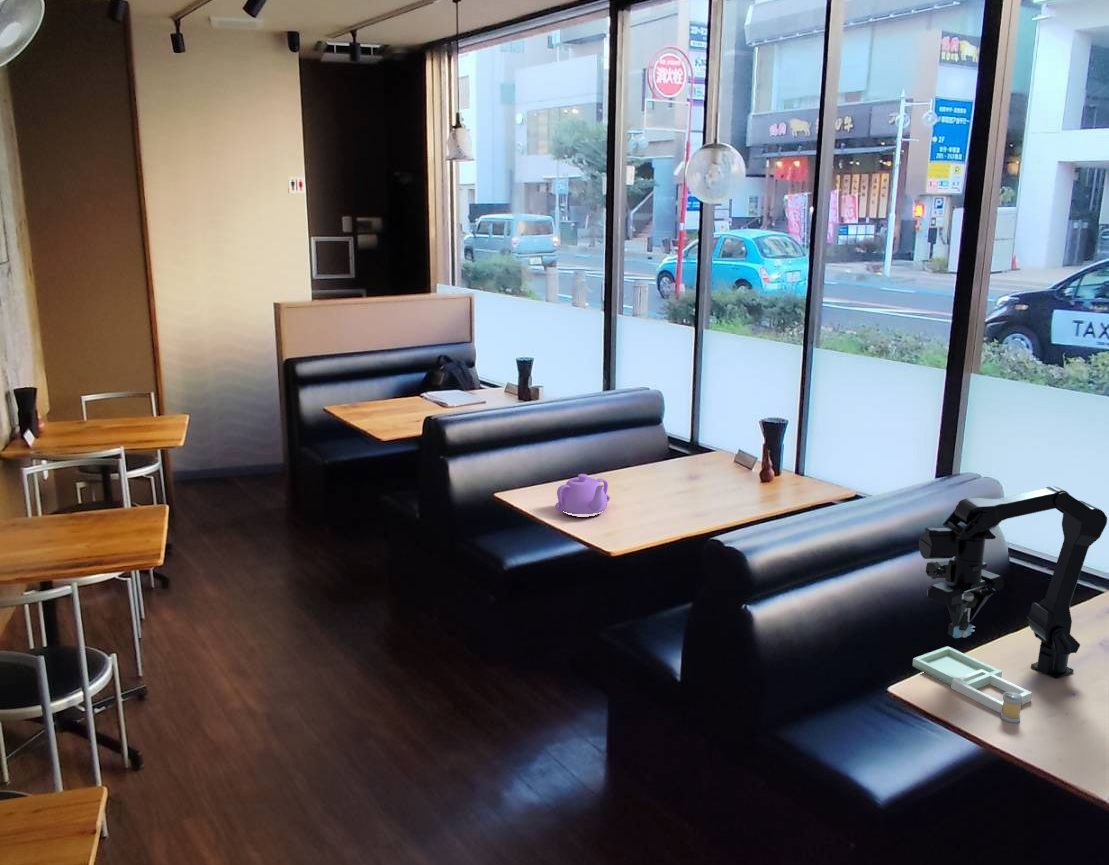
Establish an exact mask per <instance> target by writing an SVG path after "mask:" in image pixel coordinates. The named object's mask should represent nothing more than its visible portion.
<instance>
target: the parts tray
mask: <svg viewBox="0 0 1109 865" xmlns="http://www.w3.org/2000/svg"><path fill="white" fill-rule="evenodd" d="M912 667H913V668H915V669H917V670H919V671H921V672H923V673H924V674H927V675H929V676H931V677H933V678H935V679H937V680H939V681H941V682H943V683H945V684H947V685H949V686H950V687H951V686H952V680H954V679H956V680H958V681H960V682H962V683H964V684H967V685H969V686H971V687H973V688H975V689H977V690H978V689H981V688H983V687H985V686H989V685H991V684H990V678H991V675H996V676H998V677H1000V678H1002V675H1003V670H1001V669H998V668H996V667H994V666H992V665H989V664H988V663H986V662H983V661H981V660H979V659H977V658H974V657H972V656H970V655H969V654H966V653H963V652H961V651H959V650H958V649H955V648H953V647H950V646H944V647H941V648H939V649H936V650H933V651H931V652H927V653H924V654H922V655H919V656H916V657H914V658H913V659H912ZM980 669H983V670H985V671H987V672H989V673H987V674H985V675H982V676H980V677H977V678H974V679H972V680H969V681H967V682H966V681H964V680H962V679H960V678H959V677H961V676H964V675H967V674H969V673H972V672H975V671H977V670H980Z"/></svg>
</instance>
